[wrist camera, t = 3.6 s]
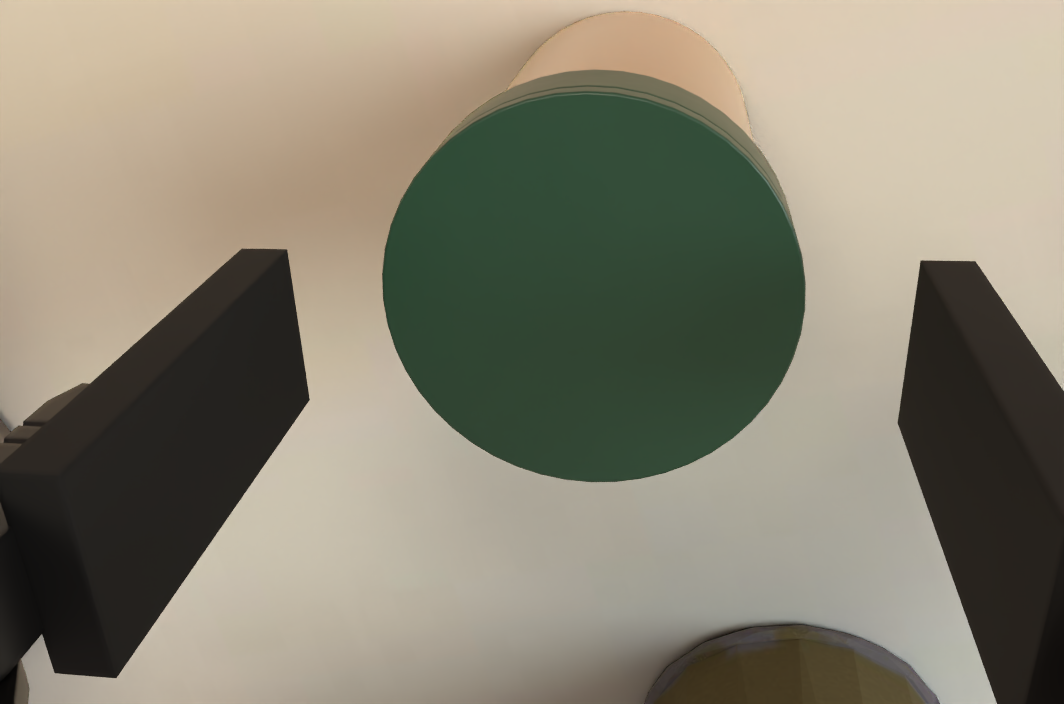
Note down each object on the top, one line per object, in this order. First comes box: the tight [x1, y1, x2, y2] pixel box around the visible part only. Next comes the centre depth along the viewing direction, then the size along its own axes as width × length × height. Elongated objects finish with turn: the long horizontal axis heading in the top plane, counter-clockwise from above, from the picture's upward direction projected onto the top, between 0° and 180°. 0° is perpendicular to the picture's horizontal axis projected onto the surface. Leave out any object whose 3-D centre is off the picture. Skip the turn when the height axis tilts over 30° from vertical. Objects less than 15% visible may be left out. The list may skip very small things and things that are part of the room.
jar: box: [506, 11, 754, 142], centre depth 22 cm, size 6×6×10 cm
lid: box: [382, 69, 805, 482], centre depth 18 cm, size 7×7×2 cm
